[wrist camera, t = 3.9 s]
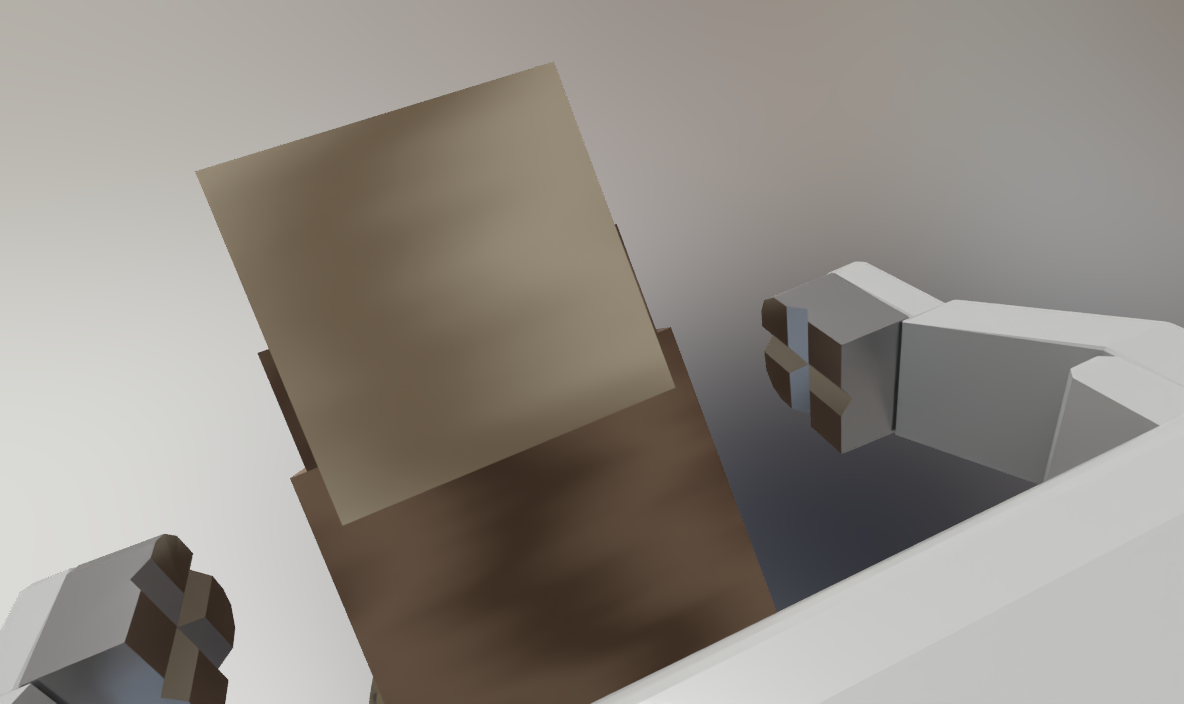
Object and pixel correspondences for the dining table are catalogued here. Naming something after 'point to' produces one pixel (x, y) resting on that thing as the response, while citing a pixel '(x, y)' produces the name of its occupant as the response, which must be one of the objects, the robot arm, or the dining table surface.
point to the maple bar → (438, 286)
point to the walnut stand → (547, 560)
